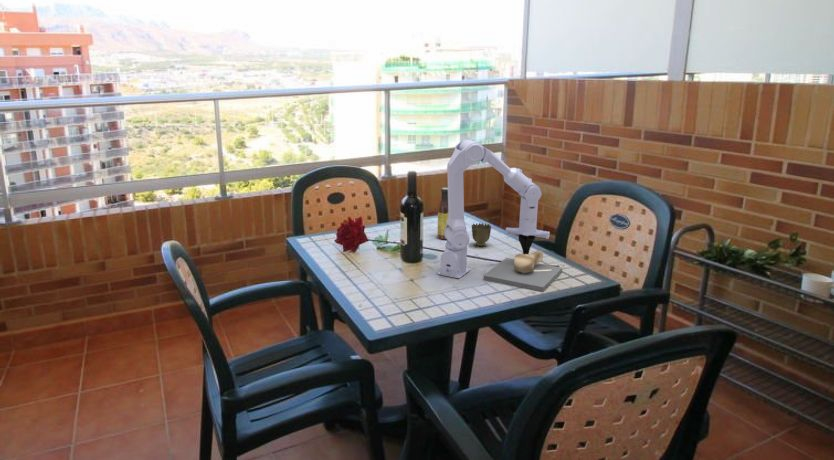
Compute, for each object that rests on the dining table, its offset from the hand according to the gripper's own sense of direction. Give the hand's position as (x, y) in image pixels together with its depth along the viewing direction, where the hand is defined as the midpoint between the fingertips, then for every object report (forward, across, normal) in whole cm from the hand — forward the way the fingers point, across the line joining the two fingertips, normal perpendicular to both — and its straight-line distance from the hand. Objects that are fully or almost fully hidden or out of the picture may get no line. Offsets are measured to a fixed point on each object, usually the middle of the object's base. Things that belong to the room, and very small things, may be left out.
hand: (525, 256), depth 209 cm
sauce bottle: (+4, -35, +23) cm, 42 cm away
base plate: (+4, +1, -9) cm, 10 cm away
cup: (+4, -20, +18) cm, 27 cm away
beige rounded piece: (+1, +2, -6) cm, 6 cm away
